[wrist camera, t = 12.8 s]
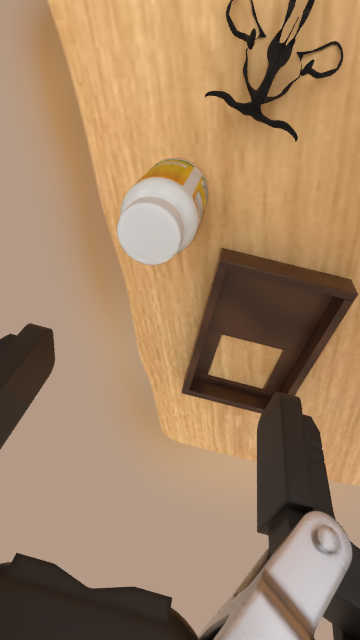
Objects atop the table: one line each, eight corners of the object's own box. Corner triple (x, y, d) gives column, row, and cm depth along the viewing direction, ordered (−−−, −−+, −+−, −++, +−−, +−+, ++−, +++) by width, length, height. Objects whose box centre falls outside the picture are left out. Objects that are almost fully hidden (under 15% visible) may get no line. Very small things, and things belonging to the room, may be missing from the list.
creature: (248, -44, 20) (193, 102, 23) (260, -112, 15) (189, 85, 18) (361, 18, 21) (293, 150, 24) (408, -28, 16) (314, 147, 19)
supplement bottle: (221, 194, 27) (211, 242, 20) (176, 234, 30) (151, 289, 22) (176, 140, 25) (145, 170, 18) (132, 188, 28) (89, 231, 21)
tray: (221, 247, 30) (219, 260, 28) (351, 279, 30) (358, 294, 28) (184, 377, 41) (181, 393, 39) (278, 401, 41) (280, 418, 39)
